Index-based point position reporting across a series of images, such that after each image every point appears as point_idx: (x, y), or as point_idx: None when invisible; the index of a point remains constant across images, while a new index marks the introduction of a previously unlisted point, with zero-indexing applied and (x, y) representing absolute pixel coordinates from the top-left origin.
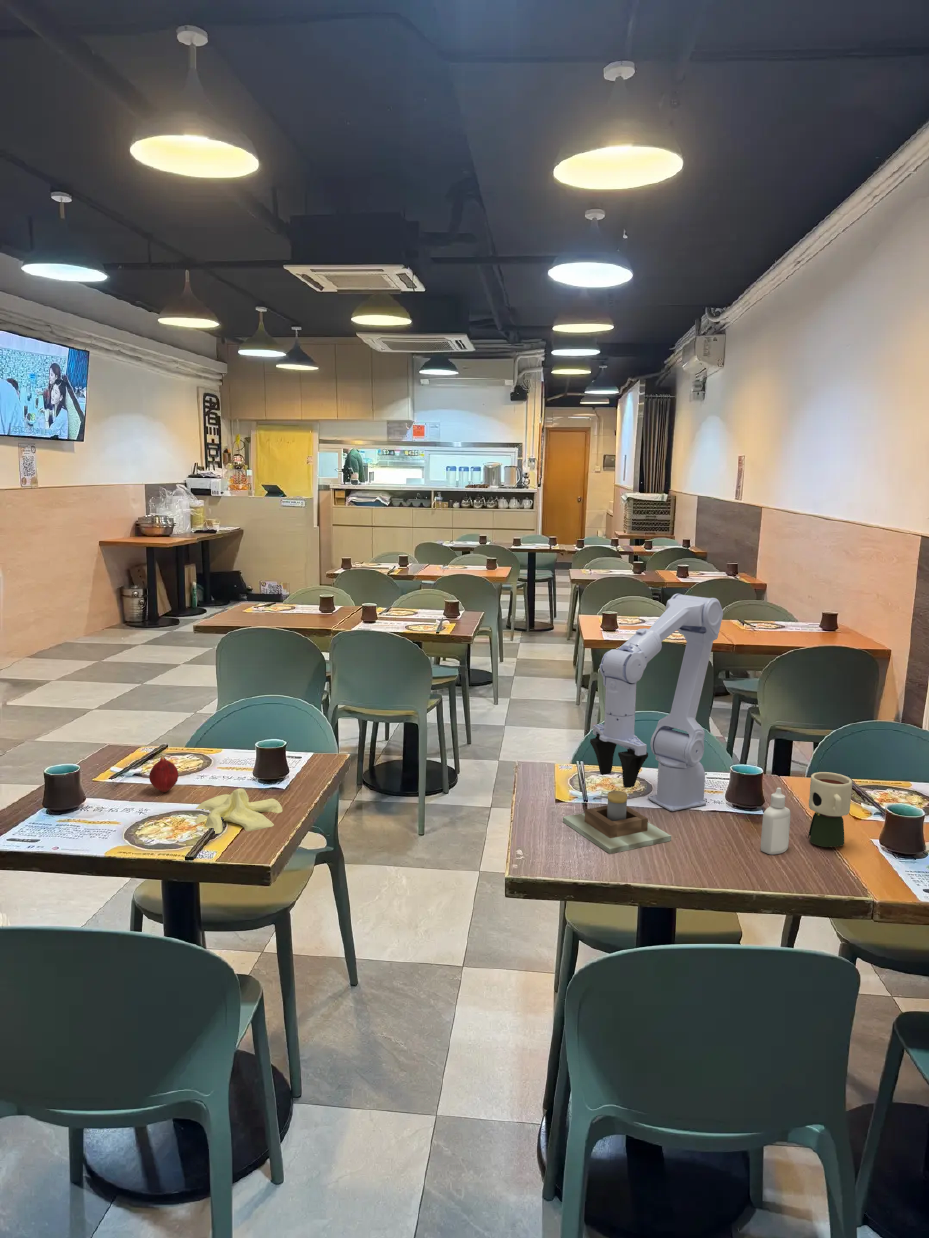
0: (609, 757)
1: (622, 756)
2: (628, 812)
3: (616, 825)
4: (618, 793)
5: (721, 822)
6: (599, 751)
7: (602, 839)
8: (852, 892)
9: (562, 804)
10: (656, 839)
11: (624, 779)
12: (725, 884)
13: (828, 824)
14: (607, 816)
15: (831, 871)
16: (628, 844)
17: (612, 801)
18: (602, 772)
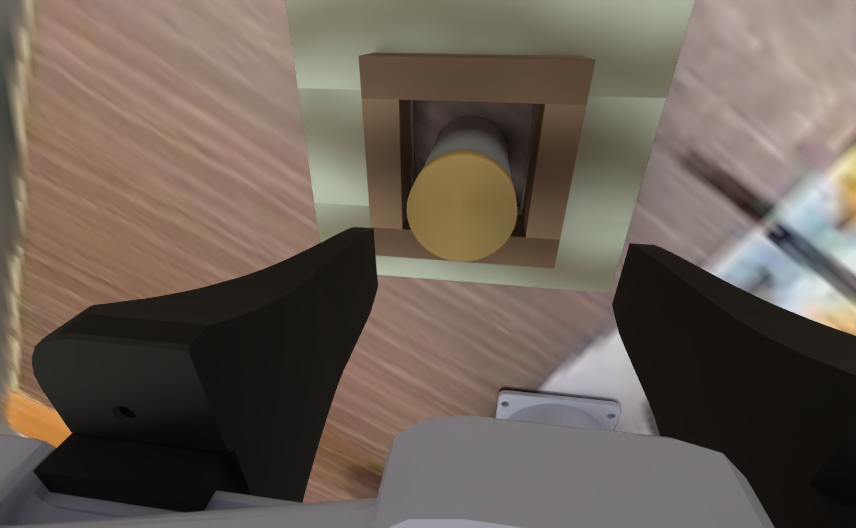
0: (665, 384)
1: (103, 318)
2: None
3: (361, 91)
4: (466, 223)
5: (387, 428)
6: (751, 346)
7: (378, 8)
8: (33, 382)
9: (845, 115)
10: (316, 214)
11: (330, 242)
12: (49, 200)
13: None
14: (484, 132)
15: None
16: (301, 89)
17: (442, 154)
18: (635, 253)
